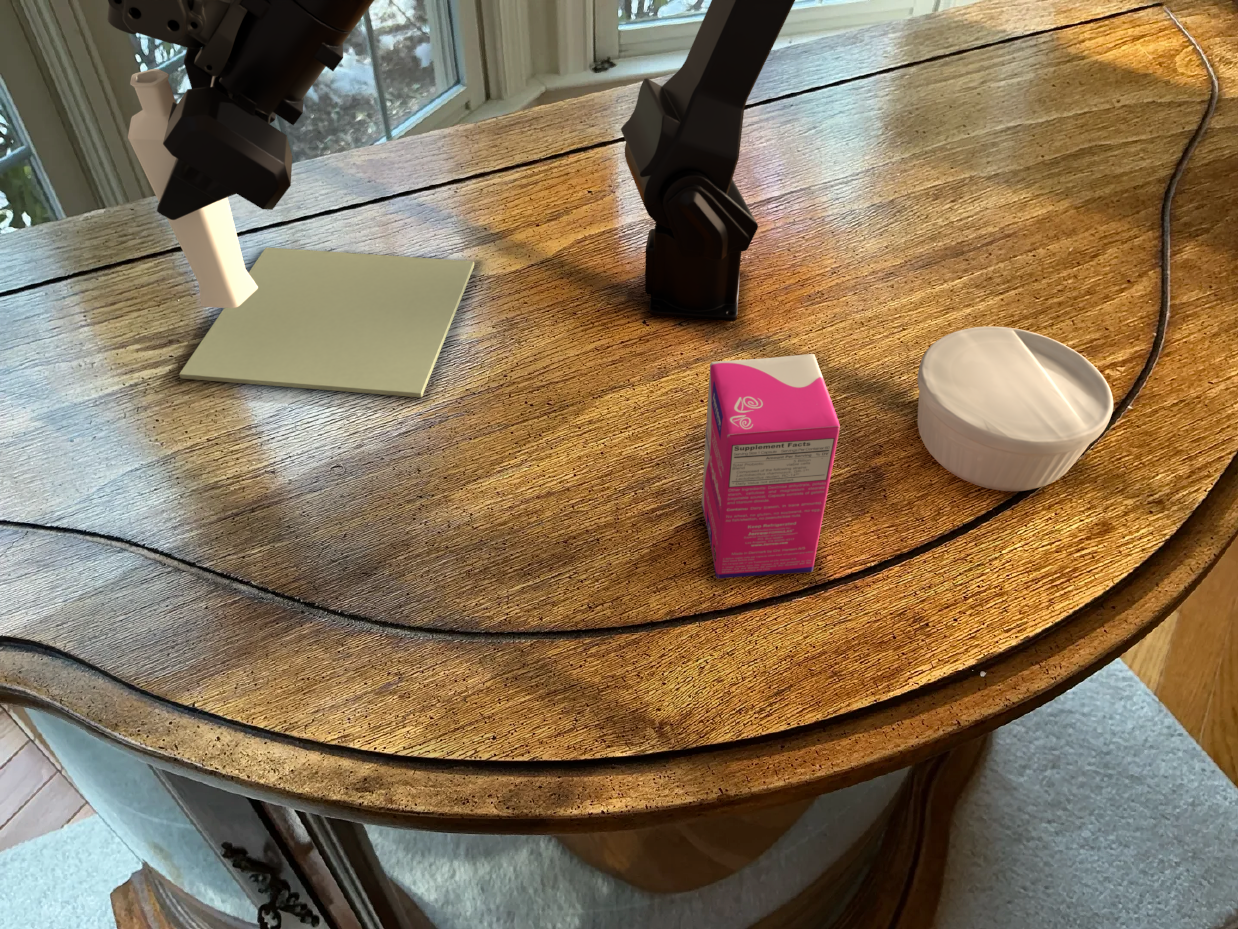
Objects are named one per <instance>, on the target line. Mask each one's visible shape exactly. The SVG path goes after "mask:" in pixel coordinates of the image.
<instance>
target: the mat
mask: <svg viewBox="0 0 1238 929" xmlns="http://www.w3.org/2000/svg"><path fill="white" fill-rule="evenodd" d="M474 268H475V261H473V260H459V259H445V258H430V257H428V258H427V257H415V256H400V255H399V256H398V255H386V254H385V255H384V254H370V253H358V252H357V253H356V252H355V253H354V252H341V251H327V250H314V249H313V250H311V249H295V248H284V247H283V248H282V247H264V249H263V251H262V252H261V254H260V255H259V257H258V258H257V259H256V261H255V263H254V264H253V265H252V267H251V268H250V270H249V271H248V273H249V275H250V276H251V278H252V279H253V280H254V282H255V283H256V285H257V286H258V289H257V290H256V291H255V292H254V293H253V294H252V295H250V296H249V297H248V298H247V299H246V300H245V301H244V302H243V303H242V304H241V305H240V306H238V307H236V308H222V310H221V312H220V314H218V317H216V319H215V320H214V322H213V324H212V325H211V327H210V328H209V329H208V331H207V333H206V334H205V335H204V337H203V338H202V340H201V342H200V343H199V344H198V346H197V347H196V348H195V350H194V351H193V353H192V355H191V356H190V357H189V359H188V360H187V362H186V363H185V365H184V366H183V368H182V369H181V371H180V372H179V374H178V375H179V377H180V379H184V380H196V381H208V382H209V381H210V382H221V383H222V382H223V383H235V384H245V385H257V386H259V385H260V386H271V387H285V388H297V389H298V388H299V389H310V390H321V391H322V390H323V391H335V392H347V393H348V392H349V393H359V394H360V393H361V394H373V395H384V396H385V395H386V396H396V397H397V396H399V397H408V398H409V397H410V398H423V395H424V393H425V390H426V388H427V385H428V382H429V380H430V378H431V375H432V372H433V370H434V368H435V366H436V363H437V360H438V358H439V355H440V353H441V350H442V348H443V345H444V342H445V340H446V338H447V335H448V333H449V330H450V328H451V326H452V323H453V321H454V317H455V315H456V313H457V310H458V308H459V305H460V303H461V301H462V298H463V295H464V293H465V290H466V288H467V285H468V283H469V280H470V278H471V275H472V273H473V270H474Z"/></svg>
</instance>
